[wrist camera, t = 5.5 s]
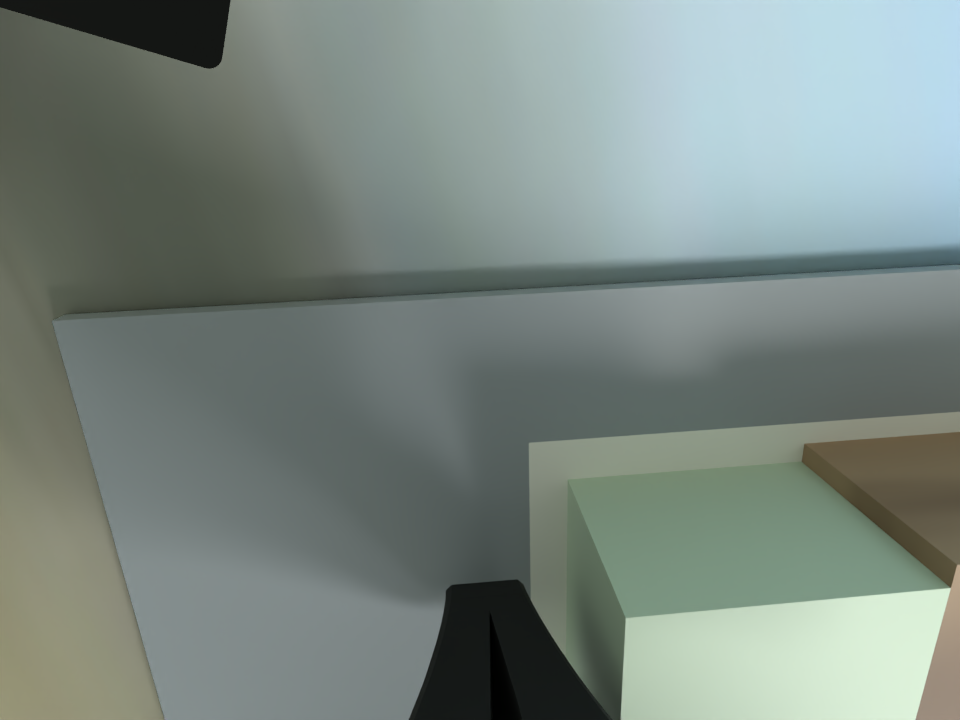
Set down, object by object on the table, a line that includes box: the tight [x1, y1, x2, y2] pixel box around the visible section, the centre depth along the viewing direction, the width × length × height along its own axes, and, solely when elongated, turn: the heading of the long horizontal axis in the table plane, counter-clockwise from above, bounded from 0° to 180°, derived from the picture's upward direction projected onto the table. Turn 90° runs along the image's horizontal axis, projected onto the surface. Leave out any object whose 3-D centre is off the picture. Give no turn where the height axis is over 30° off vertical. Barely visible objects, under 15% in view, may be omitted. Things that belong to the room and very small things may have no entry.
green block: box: [566, 461, 951, 720], centre depth 11 cm, size 5×5×4 cm
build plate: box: [52, 264, 960, 720], centre depth 13 cm, size 12×21×1 cm, turn 92°
